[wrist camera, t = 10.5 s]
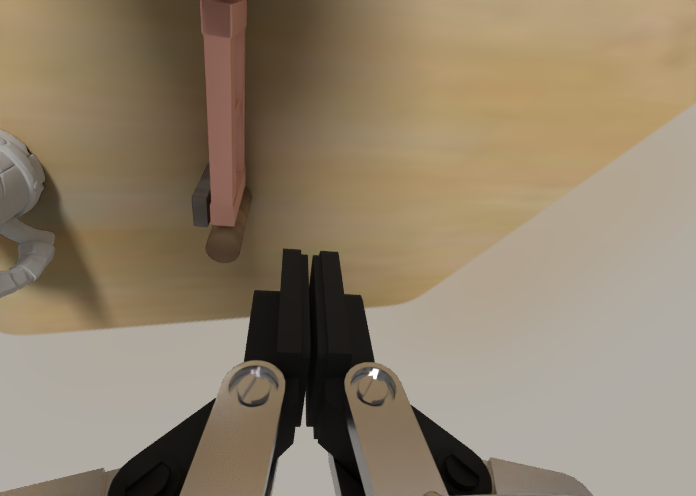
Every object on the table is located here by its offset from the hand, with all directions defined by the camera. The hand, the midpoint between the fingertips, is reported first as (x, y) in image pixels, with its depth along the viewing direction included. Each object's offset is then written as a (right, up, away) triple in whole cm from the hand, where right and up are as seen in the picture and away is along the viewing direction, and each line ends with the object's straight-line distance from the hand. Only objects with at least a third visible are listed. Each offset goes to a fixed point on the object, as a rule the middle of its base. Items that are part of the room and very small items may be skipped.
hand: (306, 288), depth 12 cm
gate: (-7, +13, +18) cm, 23 cm away
